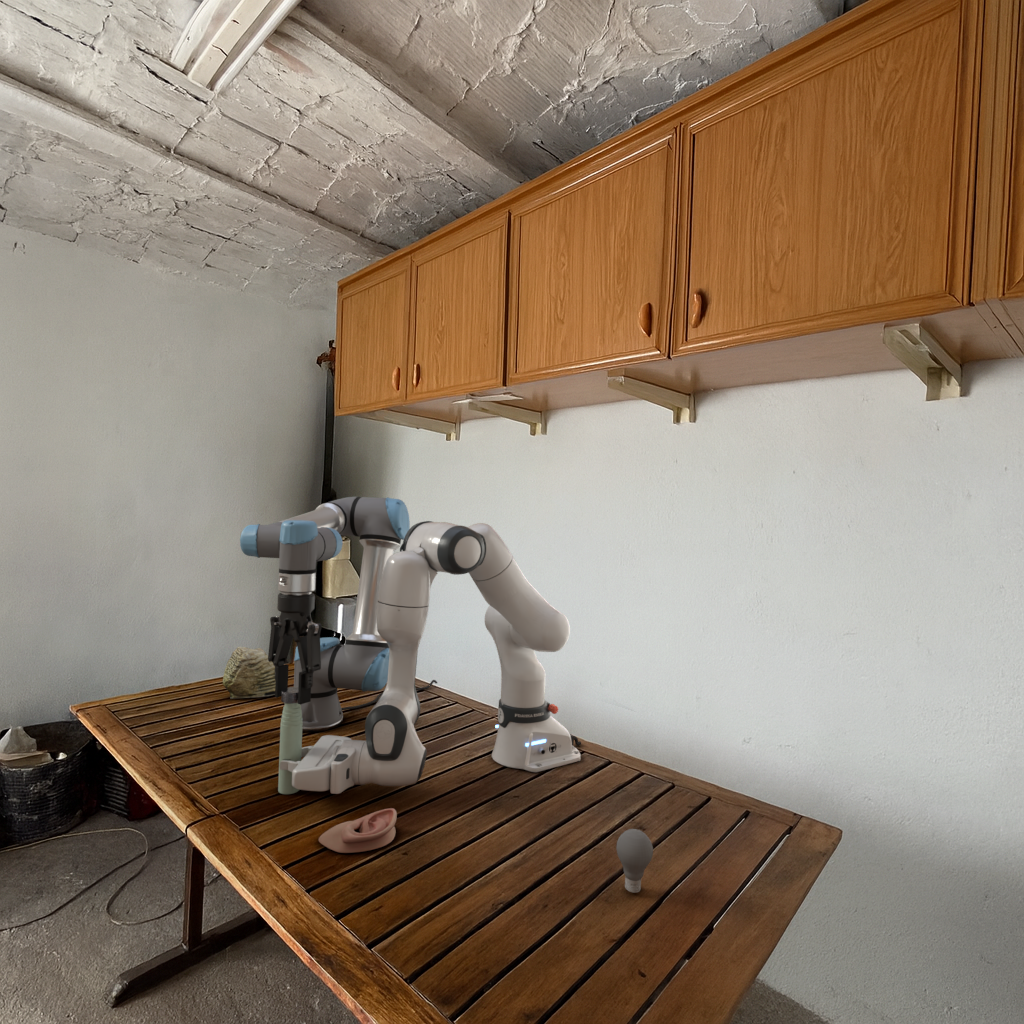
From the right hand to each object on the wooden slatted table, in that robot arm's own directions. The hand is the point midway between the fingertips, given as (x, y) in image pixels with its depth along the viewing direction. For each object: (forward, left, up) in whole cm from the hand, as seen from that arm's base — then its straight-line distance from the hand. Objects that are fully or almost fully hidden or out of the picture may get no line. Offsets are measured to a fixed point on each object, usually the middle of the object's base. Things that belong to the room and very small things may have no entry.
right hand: (286, 758), depth 136 cm
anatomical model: (-11, +25, -7) cm, 28 cm away
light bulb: (-51, +56, -7) cm, 76 cm away
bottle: (-1, 0, -7) cm, 7 cm away
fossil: (+4, -69, -7) cm, 70 cm away
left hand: (-1, 0, +13) cm, 13 cm away
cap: (-1, 0, +15) cm, 15 cm away
